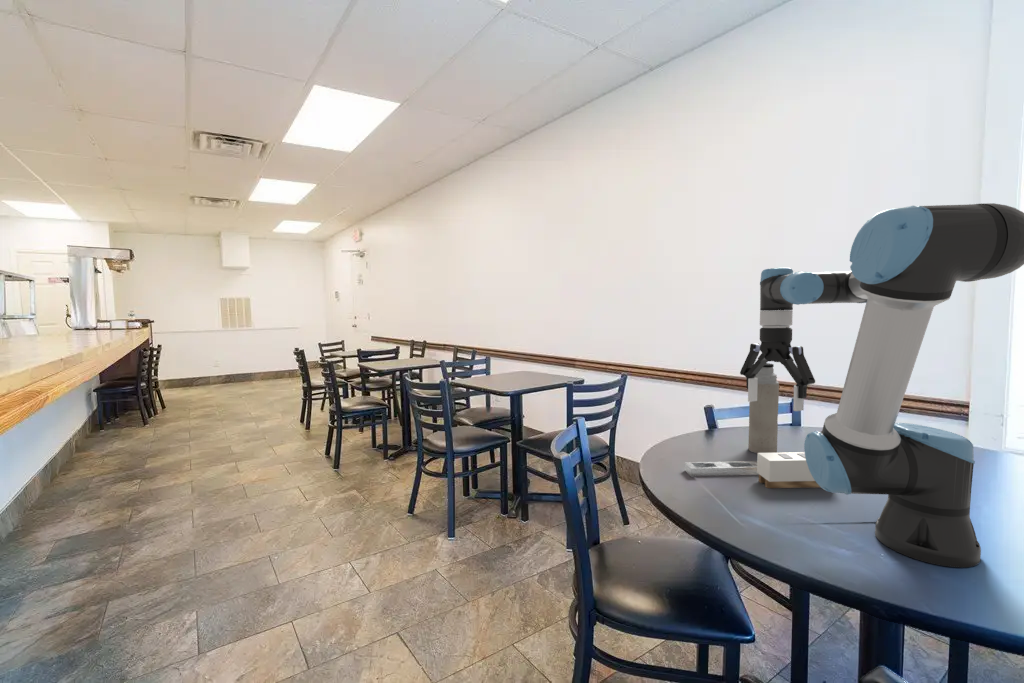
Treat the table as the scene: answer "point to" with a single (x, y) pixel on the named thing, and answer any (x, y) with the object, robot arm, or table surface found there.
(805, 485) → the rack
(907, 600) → the table surface
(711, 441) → the table surface
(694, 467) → the keyhole plate
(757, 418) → the thermos bottle
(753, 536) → the table surface
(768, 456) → the power strip
